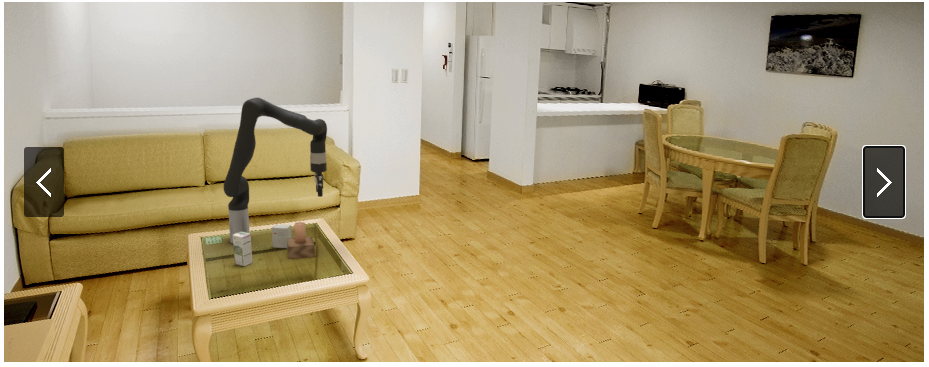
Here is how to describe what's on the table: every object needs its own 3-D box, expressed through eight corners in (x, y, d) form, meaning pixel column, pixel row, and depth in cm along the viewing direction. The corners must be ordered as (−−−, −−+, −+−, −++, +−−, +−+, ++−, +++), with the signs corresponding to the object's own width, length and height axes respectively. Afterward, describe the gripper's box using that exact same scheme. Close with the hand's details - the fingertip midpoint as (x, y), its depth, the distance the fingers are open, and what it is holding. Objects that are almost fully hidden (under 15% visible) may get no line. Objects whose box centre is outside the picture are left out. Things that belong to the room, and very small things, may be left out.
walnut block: (288, 258, 289) (288, 246, 287) (287, 250, 300) (286, 238, 298) (314, 256, 293) (314, 244, 291) (312, 248, 304) (312, 236, 302)
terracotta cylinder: (295, 243, 292) (294, 225, 290) (294, 240, 296) (294, 222, 294) (306, 242, 293) (305, 224, 291) (305, 239, 298) (304, 221, 296)
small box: (292, 244, 308) (291, 224, 305) (288, 248, 303) (287, 228, 300) (276, 243, 309) (275, 223, 306) (272, 247, 303) (271, 227, 301)
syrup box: (252, 262, 283) (251, 232, 280) (243, 266, 278) (241, 236, 274) (243, 260, 285) (241, 230, 282) (234, 264, 280) (231, 234, 277)
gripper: (309, 158, 298) (310, 191, 302) (311, 164, 285) (312, 198, 289) (324, 158, 300) (325, 190, 304) (328, 164, 287) (328, 197, 291)
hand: (319, 194), depth 296 cm, fingers open, 8 cm apart
